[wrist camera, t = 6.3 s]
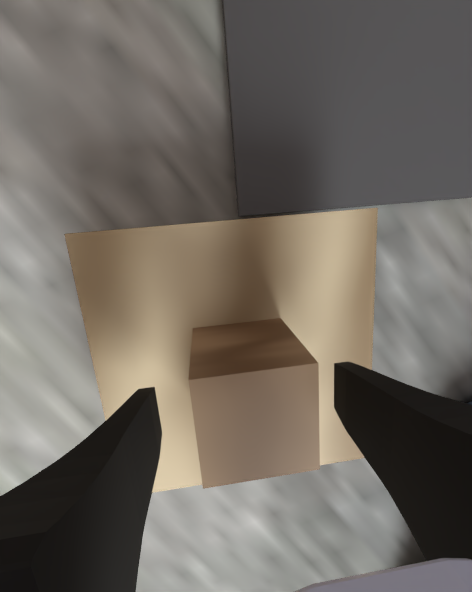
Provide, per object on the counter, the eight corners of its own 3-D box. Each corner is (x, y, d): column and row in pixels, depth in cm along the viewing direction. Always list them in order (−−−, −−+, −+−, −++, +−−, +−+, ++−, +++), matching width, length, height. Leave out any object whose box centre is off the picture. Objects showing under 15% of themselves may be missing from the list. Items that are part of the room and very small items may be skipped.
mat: (498, -101, 14) (508, -113, 14) (466, 197, 18) (473, 197, 17) (214, -107, 13) (214, -119, 13) (238, 216, 17) (239, 216, 16)
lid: (369, 208, 13) (469, 199, 8) (362, 449, 16) (431, 544, 12) (71, 233, 12) (-18, 240, 7) (125, 487, 15) (89, 611, 10)
